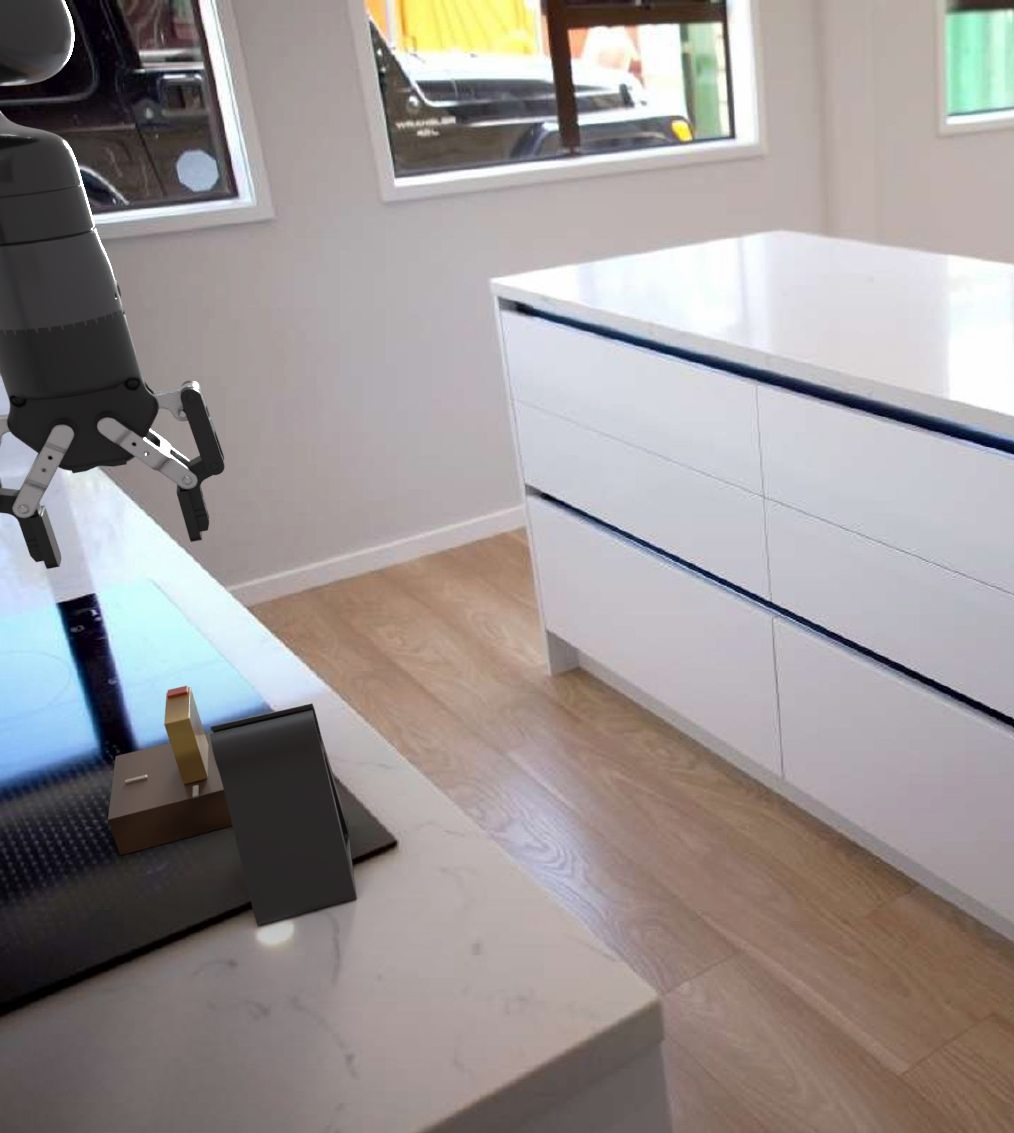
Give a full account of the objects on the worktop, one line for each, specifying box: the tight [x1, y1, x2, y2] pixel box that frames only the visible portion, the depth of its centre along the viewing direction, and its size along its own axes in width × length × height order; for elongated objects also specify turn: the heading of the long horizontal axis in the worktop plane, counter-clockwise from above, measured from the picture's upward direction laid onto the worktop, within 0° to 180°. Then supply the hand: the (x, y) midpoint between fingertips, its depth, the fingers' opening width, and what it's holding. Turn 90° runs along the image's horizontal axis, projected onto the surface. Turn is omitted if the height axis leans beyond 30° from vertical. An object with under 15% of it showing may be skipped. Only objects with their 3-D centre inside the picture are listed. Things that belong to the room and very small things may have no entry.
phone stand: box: [210, 702, 358, 926], centre depth 83 cm, size 9×6×12 cm, turn 23°
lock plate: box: [107, 731, 233, 856], centre depth 94 cm, size 11×9×3 cm
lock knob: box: [163, 685, 208, 784], centre depth 92 cm, size 5×2×5 cm, turn 24°
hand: (127, 550), depth 86 cm, fingers open, 8 cm apart
